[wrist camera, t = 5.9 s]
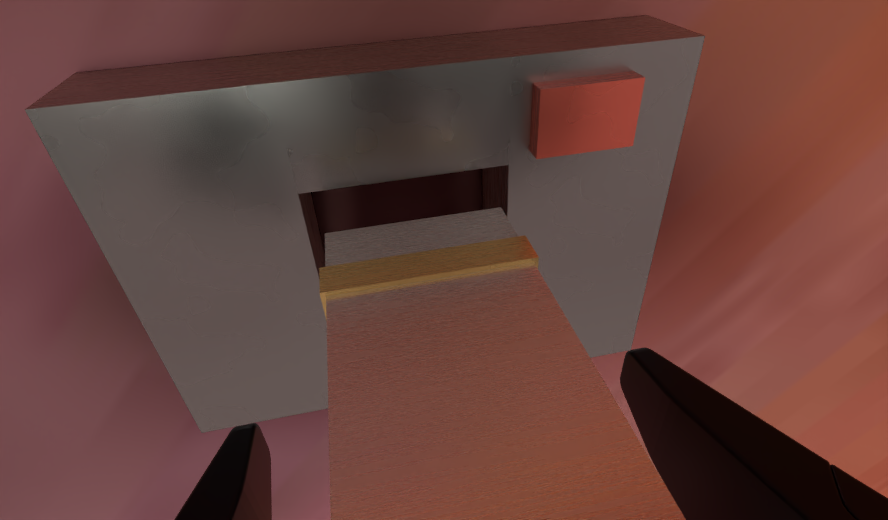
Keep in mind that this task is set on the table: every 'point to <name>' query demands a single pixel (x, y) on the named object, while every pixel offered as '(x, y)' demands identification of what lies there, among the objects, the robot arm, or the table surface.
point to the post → (467, 385)
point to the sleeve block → (364, 182)
